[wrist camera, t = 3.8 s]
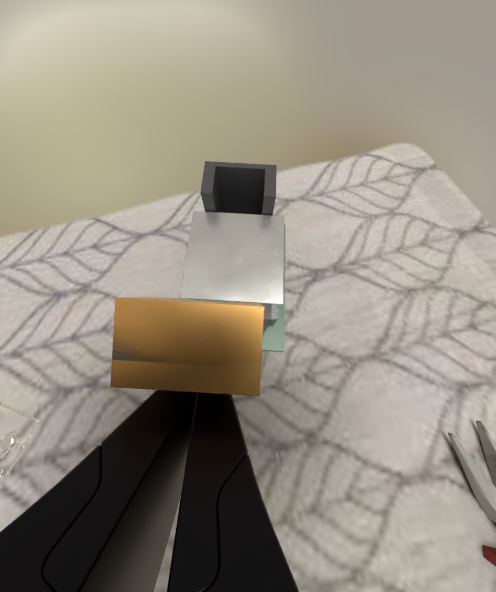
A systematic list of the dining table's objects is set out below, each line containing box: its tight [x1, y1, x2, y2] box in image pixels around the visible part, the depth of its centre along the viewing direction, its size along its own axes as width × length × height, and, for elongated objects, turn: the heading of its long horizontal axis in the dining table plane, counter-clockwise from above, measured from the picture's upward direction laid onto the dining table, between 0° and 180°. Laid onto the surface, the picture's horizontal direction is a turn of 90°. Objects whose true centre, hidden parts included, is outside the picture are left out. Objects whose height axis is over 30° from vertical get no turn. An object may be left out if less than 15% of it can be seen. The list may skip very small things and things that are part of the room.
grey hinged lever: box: [111, 297, 264, 396], centre depth 10 cm, size 2×3×11 cm, turn 87°
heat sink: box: [180, 211, 284, 326], centre depth 19 cm, size 8×7×6 cm
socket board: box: [192, 161, 285, 352], centre depth 19 cm, size 13×9×8 cm
